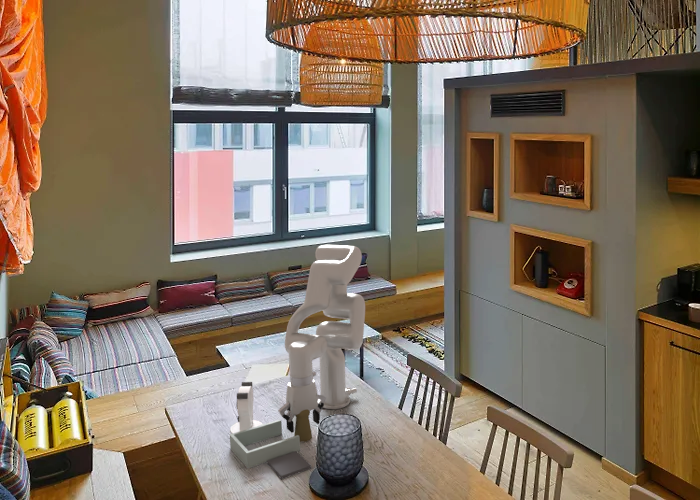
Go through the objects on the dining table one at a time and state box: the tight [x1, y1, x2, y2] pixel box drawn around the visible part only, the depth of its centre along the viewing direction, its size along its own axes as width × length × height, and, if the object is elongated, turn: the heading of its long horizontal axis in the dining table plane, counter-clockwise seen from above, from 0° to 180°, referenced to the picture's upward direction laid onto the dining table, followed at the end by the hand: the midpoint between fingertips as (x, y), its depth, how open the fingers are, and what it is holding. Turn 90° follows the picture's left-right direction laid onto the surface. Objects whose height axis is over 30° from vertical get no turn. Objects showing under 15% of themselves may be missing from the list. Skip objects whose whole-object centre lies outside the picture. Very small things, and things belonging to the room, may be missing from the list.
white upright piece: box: [229, 381, 264, 434], centre depth 200 cm, size 12×11×15 cm
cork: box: [293, 409, 313, 443], centre depth 193 cm, size 6×6×11 cm
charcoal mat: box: [266, 451, 312, 480], centre depth 177 cm, size 10×10×1 cm
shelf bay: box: [229, 419, 301, 469], centre depth 187 cm, size 18×14×5 cm
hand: (303, 426), depth 194 cm, fingers open, 9 cm apart
